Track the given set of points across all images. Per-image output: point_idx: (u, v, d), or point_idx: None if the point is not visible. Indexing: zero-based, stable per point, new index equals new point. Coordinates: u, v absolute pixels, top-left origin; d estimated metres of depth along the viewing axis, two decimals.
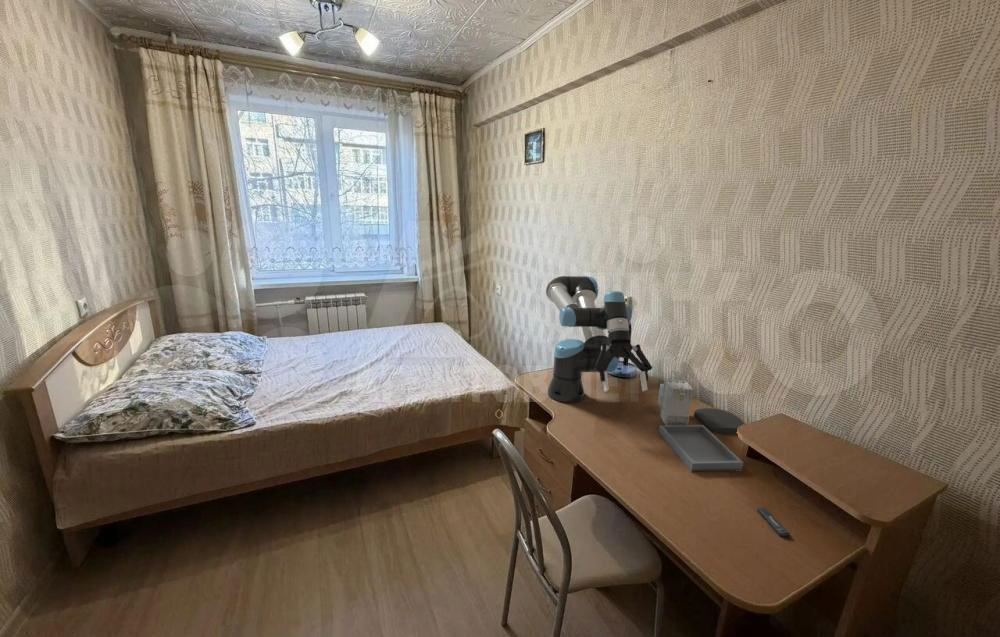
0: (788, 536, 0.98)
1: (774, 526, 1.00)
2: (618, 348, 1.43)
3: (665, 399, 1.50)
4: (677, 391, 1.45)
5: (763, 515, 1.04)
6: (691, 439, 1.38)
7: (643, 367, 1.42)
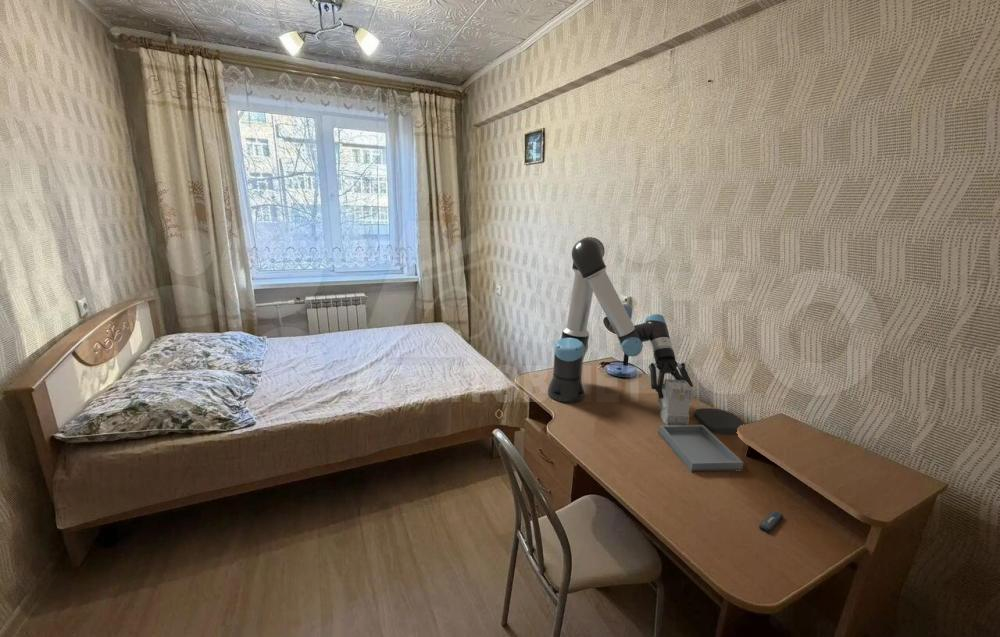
0: (766, 531, 0.99)
1: (764, 521, 1.02)
2: (665, 364, 1.56)
3: None
4: (677, 391, 1.45)
5: None
6: (691, 439, 1.38)
7: None
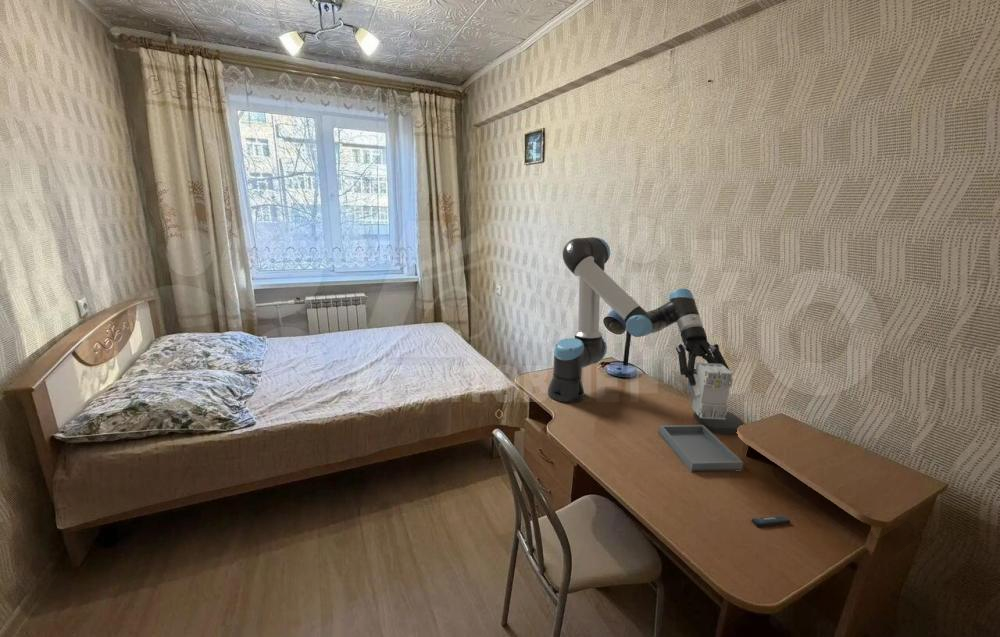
0: (756, 524, 1.01)
1: None
2: (696, 345, 1.32)
3: None
4: (714, 376, 1.21)
5: (774, 516, 1.04)
6: (691, 439, 1.38)
7: None
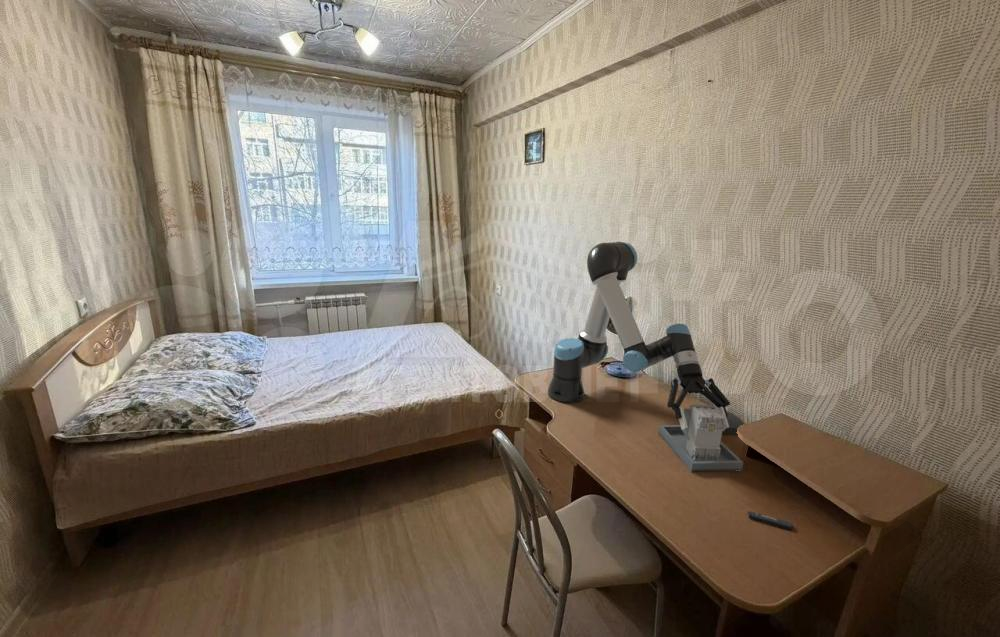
0: (749, 515, 1.04)
1: (761, 514, 1.04)
2: (691, 382, 1.34)
3: (692, 428, 1.29)
4: (707, 420, 1.24)
5: None
6: None
7: (720, 402, 1.32)
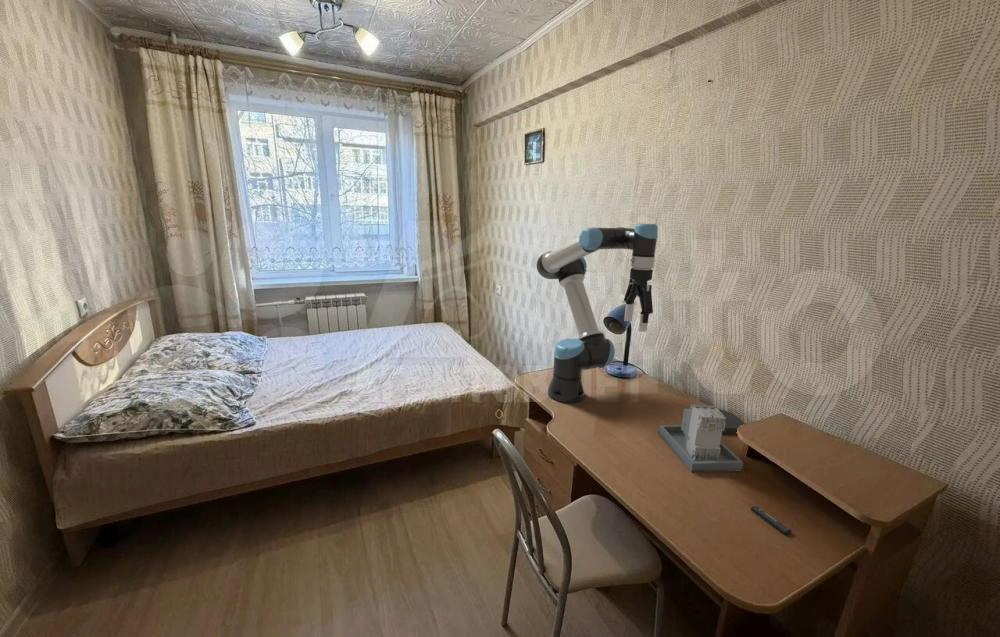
0: None
1: (766, 512, 1.05)
2: (632, 285, 1.46)
3: (691, 428, 1.29)
4: (707, 420, 1.24)
5: None
6: None
7: (642, 309, 1.40)
